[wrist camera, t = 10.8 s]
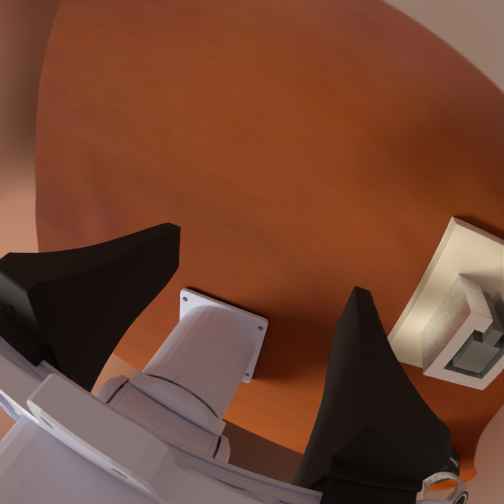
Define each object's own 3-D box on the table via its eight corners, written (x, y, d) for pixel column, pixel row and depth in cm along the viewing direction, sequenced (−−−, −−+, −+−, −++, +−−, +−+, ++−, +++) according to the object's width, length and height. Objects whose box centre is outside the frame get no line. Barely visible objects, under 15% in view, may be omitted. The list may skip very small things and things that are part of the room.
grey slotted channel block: (475, 351, 20) (482, 390, 16) (420, 333, 21) (423, 374, 17) (515, 297, 17) (531, 335, 13) (458, 273, 18) (471, 312, 14)
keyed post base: (466, 370, 22) (472, 417, 18) (381, 345, 24) (378, 396, 20) (543, 260, 16) (571, 303, 11) (452, 216, 17) (473, 257, 13)
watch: (472, 452, 27) (470, 525, 19) (420, 468, 32) (411, 536, 23) (460, 438, 27) (458, 519, 18) (404, 456, 31) (393, 531, 22)
